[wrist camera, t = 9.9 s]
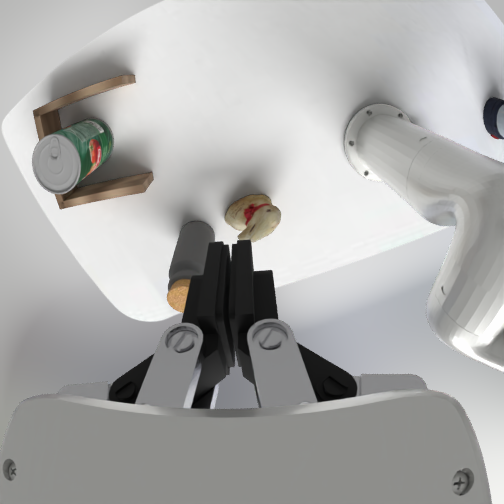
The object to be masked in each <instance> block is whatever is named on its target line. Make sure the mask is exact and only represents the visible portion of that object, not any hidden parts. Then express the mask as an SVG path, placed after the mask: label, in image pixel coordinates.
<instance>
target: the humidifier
mask: <svg viewBox="0 0 504 504" xmlns="http://www.w3.org/2000/svg"><path fill="white" fill-rule="evenodd" d="M483 119H484V124H485V127H486V130H487V131H488V133H490V134H491V136H492V137H493V138H495V139H504V100H501V99H498V98H495V97H493V98H490V99H489V100H488V101H487V102H486V104H485V107H484V112H483Z"/></svg>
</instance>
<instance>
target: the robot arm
mask: <svg viewBox="0 0 504 504" xmlns="http://www.w3.org/2000/svg"><path fill="white" fill-rule="evenodd" d="M367 111H368V113H367ZM398 114H399V116H398ZM350 141H351V143H349V142H350ZM344 145H345V152H346V156H347V159H348V161H349V163H350V164H351V166H352V167H353V168H354V170H355V171H356V172H358V173H359V174H360V175H361V176H363V177H364V178H366V179H369V180H371V181H376V182H384V183H386V184H387V185H388V186H389V187H390V188H391V189H392V190H394V191H395V192H396V193H397V194H398V195H399V196H400V197H401V198H402V199H403V200H405V201H406V202H407V203H408V204H409V205H410V206H411V207H412V208H413V209H414V210H415V211H417V212H418V213H419V214H420V215H421V216H422V217H423V218H424V219H426V220H427V221H429V222H431V223H433V224H436V225H439V226H455V225H456V228H455V232H454V235H453V238H452V240H451V243H450V247H449V249H448V252H447V254H446V257H445V259H444V262H443V264H442V266H441V268H440V270H439V273H438V275H437V277H436V279H435V282H434V284H433V286H432V288H431V291H430V293H429V296H428V299H427V304H426V316H427V320H428V323H429V325H430V327H431V329H432V331H433V332H434V333H435V335H436V336H437V337H438V338H439V339H440V340H441V341H442V342H443V343H444V344H446V345H447V346H449V347H450V348H452V349H453V350H455V351H457V352H459V353H460V354H462V355H464V356H466V357H469V358H471V359H473V360H475V361H478V362H480V363H482V364H485V365H487V366H489V367H491V368H494V369H496V370H498V371H500V372H503V373H504V163H502V162H499V161H497V160H494V159H492V158H489V157H487V156H484V155H482V154H479V153H477V152H475V151H473V150H471V149H469V148H466V147H464V146H462V145H460V144H458V143H456V142H454V141H452V140H450V139H448V138H445V137H443V136H441V135H439V134H436V133H434V132H432V131H430V130H427V129H425V128H422V127H420V126H417V125H415V124H412V123H411V121H410V120H409V118H408V117H407V116H406V115H405V113H403V112H402V111H401V110H399V109H398V108H396V107H393V106H391V105H387V104H372V105H369V106H367V107H365V108H363V109H361V110H360V111H359V112H358V113H357V114H356V115H354V117H353V118H352V120H351V121H350V123H349V125H348V127H347V130H346V134H345V142H344ZM235 351H236V356H237V361H238V366H239V367H242V372H243V376H244V377H245V378H246V379H247V380H249V381H250V382H251V383H253V384H254V389H255V394H256V398H257V403H258V407H259V408H249V409H248V408H247V409H214V408H215V403H216V399H217V395H218V390H219V382H220V381H221V380H223V379H224V378H225V377H226V375H229V371H230V367H234V366H235ZM0 504H492V501H491V494H490V489H489V483H488V478H487V473H486V468H485V464H484V460H483V456H482V452H481V449H480V446H479V443H478V440H477V437H476V434H475V431H474V429H473V427H472V424H471V422H470V420H469V418H468V416H467V414H466V412H465V410H464V409H463V407H462V406H461V404H460V403H459V402H458V401H457V400H456V399H455V398H454V397H452V396H451V395H449V394H446V393H443V392H439V391H434V390H428V389H427V386H426V383H425V382H424V380H423V379H422V378H420V377H419V376H417V375H412V374H361V376H360V377H359V376H352V375H350V374H349V373H348V372H346V371H344V370H343V369H341V368H339V367H338V366H336V365H334V364H332V363H331V362H329V361H327V360H326V359H324V358H322V357H320V356H319V355H317V354H315V353H314V352H312V351H310V350H309V349H307V348H305V347H304V346H302V345H300V344H299V343H297V342H296V340H295V338H294V334H293V331H292V330H291V328H290V326H289V325H288V324H286V323H285V322H283V321H281V320H278V313H277V304H276V296H275V288H274V280H273V272H272V270H266V271H254V269H253V257H252V246H251V239H248V240H237V244H232V256H231V258H230V251H229V245H224V243H223V241H221V242H209V245H208V251H207V256H206V262H205V267H204V273H203V275H192V277H191V280H190V285H189V289H188V294H187V299H186V303H185V308H184V313H183V318H182V323H179V324H175V325H173V326H172V327H169V328H168V329H167V330H166V331H165V332H164V334H163V335H162V337H161V339H160V342H159V344H158V347H157V349H156V351H155V353H154V354H153V355H151V356H150V357H149V358H147V359H146V360H144V361H143V362H141V363H140V364H138V365H137V366H136V367H134V368H133V369H131V370H130V371H128V372H127V373H125V374H124V375H122V376H121V377H119V378H118V379H117V380H116V381H115V382H113V383H112V384H110V383H109V382H108V381H107V382H97V383H86V384H73V385H66V386H64V387H62V388H61V389H60V390H59V392H58V393H56V394H55V393H53V394H41V395H37V396H32V397H30V398H27V399H25V400H23V401H22V402H21V403H20V404H19V405H18V406H17V407H16V409H15V411H14V413H13V415H12V417H11V419H10V422H9V424H8V427H7V430H6V433H5V436H4V439H3V443H2V446H1V450H0Z"/></svg>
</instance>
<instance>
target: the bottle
mask: <svg viewBox="0 0 504 504" xmlns="http://www.w3.org/2000/svg"><path fill="white" fill-rule="evenodd" d="M209 242H215V234H214V231H213V230H212V228H211V227H210V226H209V225H208V224H206V223H204V222H200V221H193V222H190V223H187V224H186V225H185V226H184V227H183V228H182V230H181V232H180V235H179V238H178V241H177V245H176V248H175V251H174V255H173V258H172V262H171V266H170V270H169V279H170V280H169V284H168V291H169V292H168V294H167V301H168V303H169V305H170V306H171V307H172V308H173V309H175V310H177V311H179V312H182V313H184V308H185V303H186V299H187V294H188V289H189V285H190V280H191V277H192V275H203V273H204V267H205V262H206V256H207V251H208V245H209Z"/></svg>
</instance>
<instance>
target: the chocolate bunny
mask: <svg viewBox="0 0 504 504" xmlns="http://www.w3.org/2000/svg"><path fill="white" fill-rule="evenodd" d="M280 220H281V212H280V210H279V209H278V208H277V207H276V206H273V205H272V203H271V200H270V199H269V197H268V196H265V195H262V194H261V195H249V196H246V197H244V198H241V199H240V200H238V201H236V202H234V203H233V204H232V205H231V206H230V207H229V209H228V211H227V213H226V215H225V222H226V223H227V224H229V225H231V226H232V227H233V228H235V229H236V230H240V231H243V232H242V233H240V234H239V235H238V239H239V240H248V239H251V242H256V241H257V240H260V239H262V238H263V237H265V236H268V235H269V234H270V233H272V232H273V231H274V229H275V228H276V227H277V226H278V224H279V223H280Z"/></svg>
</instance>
